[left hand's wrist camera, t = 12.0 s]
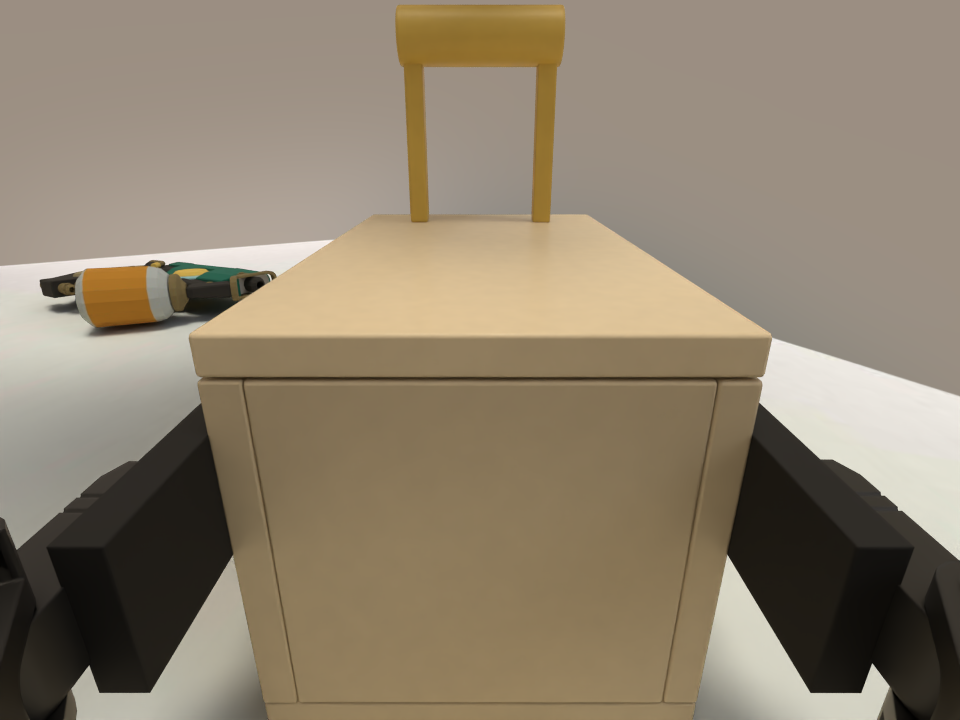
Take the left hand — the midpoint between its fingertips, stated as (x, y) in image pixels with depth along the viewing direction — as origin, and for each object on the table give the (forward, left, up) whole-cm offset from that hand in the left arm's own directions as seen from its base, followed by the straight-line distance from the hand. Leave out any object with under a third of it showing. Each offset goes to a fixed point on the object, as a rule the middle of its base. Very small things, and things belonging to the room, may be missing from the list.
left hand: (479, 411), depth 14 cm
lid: (+4, -2, +2) cm, 5 cm away
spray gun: (+41, +7, -6) cm, 42 cm away
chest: (+4, -2, -6) cm, 8 cm away
